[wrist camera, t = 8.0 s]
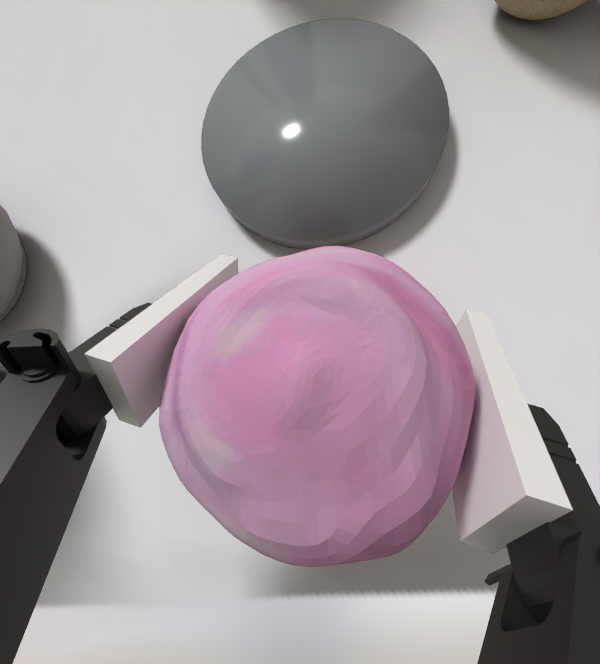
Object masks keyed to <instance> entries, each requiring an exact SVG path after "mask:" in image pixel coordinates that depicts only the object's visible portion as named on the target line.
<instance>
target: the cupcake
mask: <svg viewBox="0 0 600 664" xmlns="http://www.w3.org/2000/svg"><path fill="white" fill-rule="evenodd" d="M475 391H476V388H475V382H474V376H473V369H472V364H471V362H470V359H469V356H468V353H467V350H466V347H465V344H464V342H463V340H462V338H461V336H460V334H459V332H458V330H457V328H456V326H455V324H454V323H453V321H452V320H451V318H450V317H449V315H448V313H447V312H446V310H445V309H444V307H443V306H442V305H441V304H440V303H439V302H438V301H437V300H436V299H435V298H434V296H433V295H432V294H431V293H430V292H429V291H428V290H426V289H425V288H424V287H423V286H422V285H421V284H420V283H419V282H418V281H417V280H415V279H414V278H413V277H412V276H411V275H409V274H408V273H407V272H406V271H405V270H403V269H402V268H400V267H399V266H397V265H396V264H395V263H393V262H391V261H389V260H387V259H386V258H384V257H382V256H380V255H377V254H373V253H370V252H367V251H363V250H359V249H355V248H350V247H343V246H323V247H318V248H313V249H309V250H305V251H301V252H298V253H295V254H291V255H287V256H282V257H278V258H274V259H270V260H267V261H265V262H262V263H260V264H257V265H255V266H253V267H251V268H249V269H247V270H245V271H243V272H241V273H239V274H237V275H235V276H234V277H232V278H231V279H229V280H228V281H226V282H224V283H223V284H221V285H220V286H219V287H217V288H216V289H215V290H213V291H212V292H210V293H209V294H208V296H207V297H206V298H205V299H204V300H203V301H202V302H201V303H200V304H199V305H198V306H197V308H196V309H195V310H194V312H193V313H192V314H191V316H190V317H189V319H188V320H187V322H186V324H185V327H184V329H183V331H182V333H181V335H180V338H179V340H178V342H177V345H176V347H175V349H174V351H173V354H172V357H171V359H170V362H169V365H168V368H167V372H166V376H165V380H164V382H163V386H162V390H161V394H160V411H159V427H160V431H161V436H162V440H163V443H164V446H165V449H166V452H167V454H168V457H169V459H170V461H171V463H172V466H173V468H174V470H175V472H176V473H177V475H178V477H179V479H180V481H181V482H182V483H183V485H184V486H185V487H186V489H187V490H188V491H189V492H190V493H191V495H192V496H193V497H194V498H195V499H196V500H197V501H198V502H199V503H200V504H201V505H202V506H203V507H204V508H205V509H206V510H207V511H208V512H209V513H210V514H211V515H212V516H213V517H214V518H215V519H216V520H217V521H218V522H219V523H220V524H221V525H222V526H223V527H224V528H225V529H226V530H227V531H229V532H230V533H231V534H232V535H233V536H234V537H236V538H237V539H239V540H240V541H242V542H243V543H245V544H246V545H248V546H249V547H251V548H253V549H254V550H256V551H258V552H260V553H261V554H263V555H265V556H268V557H270V558H273V559H275V560H277V561H280V562H284V563H288V564H291V565H296V566H308V567H315V566H327V565H336V564H344V563H351V562H358V561H365V560H371V559H377V558H382V557H387V556H390V555H392V554H395V553H398V552H400V551H401V550H403V549H404V548H406V547H407V546H409V545H410V544H411V543H412V542H413V541H414V540H415V539H416V538H417V537H418V536H419V535H420V534H421V533H422V532H423V531H424V529H425V528H426V527H427V525H428V524H429V523H430V522H431V520H432V519H433V518H434V517H435V516H436V515H437V513H438V511H439V510H440V508H441V507H442V505H443V504H444V502H445V500H446V499H447V497H448V495H449V493H450V491H451V489H452V488H453V485H454V483H455V480H456V478H457V475H458V472H459V468H460V464H461V461H462V457H463V453H464V450H465V446H466V442H467V437H468V433H469V428H470V423H471V419H472V414H473V407H474V399H475Z"/></svg>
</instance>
